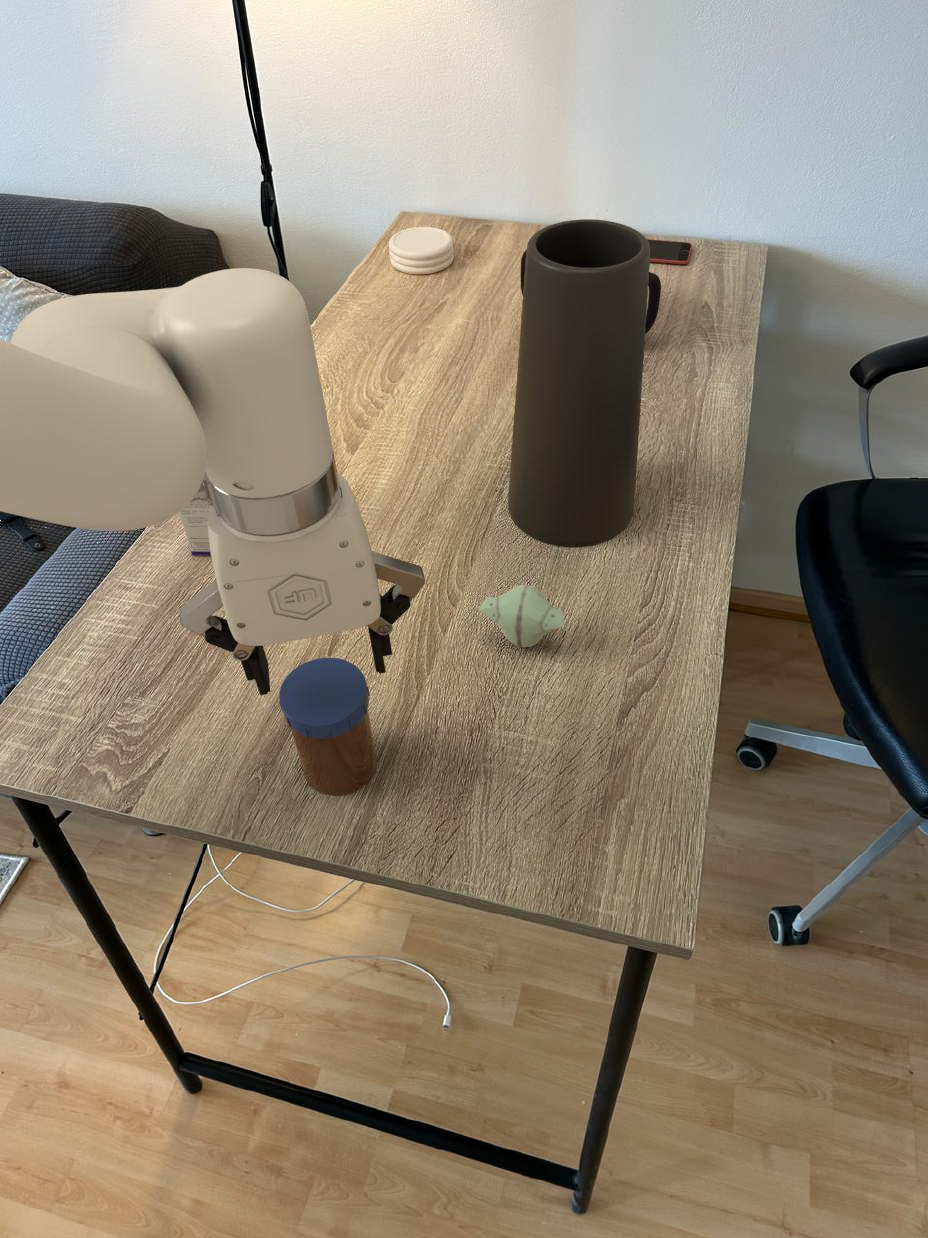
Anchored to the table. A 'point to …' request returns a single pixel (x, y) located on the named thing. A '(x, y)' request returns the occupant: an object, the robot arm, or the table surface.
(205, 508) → the supplement box
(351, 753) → the jar
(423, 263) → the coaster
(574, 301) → the vase
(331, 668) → the lid
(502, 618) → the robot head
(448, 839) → the table surface
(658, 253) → the smartphone
